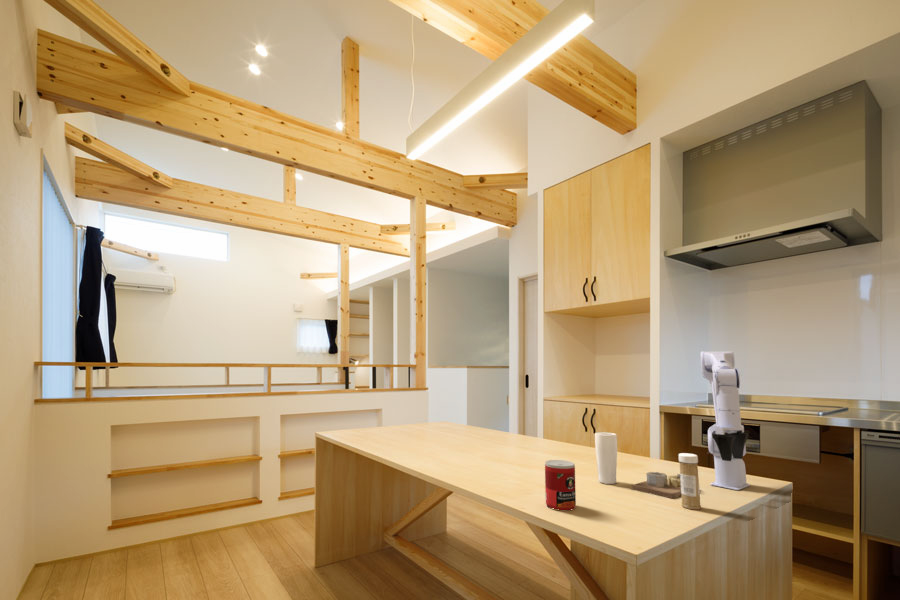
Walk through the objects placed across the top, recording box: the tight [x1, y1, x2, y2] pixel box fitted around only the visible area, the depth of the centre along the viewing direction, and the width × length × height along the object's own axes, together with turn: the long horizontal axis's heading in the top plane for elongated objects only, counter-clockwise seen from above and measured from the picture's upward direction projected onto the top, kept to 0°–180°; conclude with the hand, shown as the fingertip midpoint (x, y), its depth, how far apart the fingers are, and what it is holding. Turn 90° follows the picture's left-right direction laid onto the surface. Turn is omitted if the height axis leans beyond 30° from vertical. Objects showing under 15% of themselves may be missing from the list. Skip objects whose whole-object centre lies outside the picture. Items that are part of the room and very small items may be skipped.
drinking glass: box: [594, 431, 618, 485], centre depth 146 cm, size 7×7×15 cm
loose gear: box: [646, 471, 668, 488], centre depth 138 cm, size 5×5×3 cm
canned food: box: [544, 459, 577, 511], centre depth 121 cm, size 8×8×11 cm
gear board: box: [631, 473, 682, 499], centre depth 138 cm, size 16×12×4 cm
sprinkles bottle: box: [678, 452, 702, 510], centre depth 121 cm, size 5×5×13 cm
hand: (732, 459), depth 131 cm, fingers open, 7 cm apart
